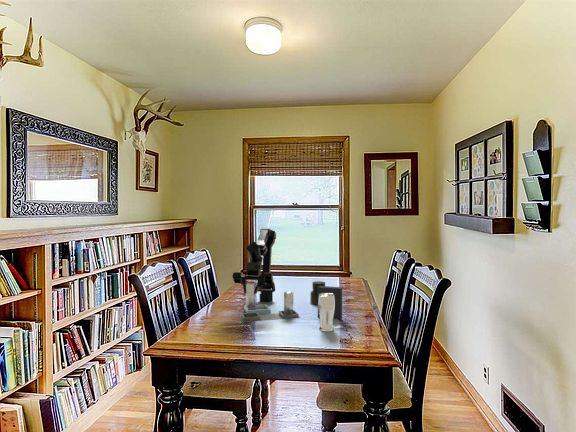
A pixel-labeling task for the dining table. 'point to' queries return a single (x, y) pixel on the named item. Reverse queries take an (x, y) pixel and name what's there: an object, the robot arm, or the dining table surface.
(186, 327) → the dining table surface
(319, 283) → the ink bottle
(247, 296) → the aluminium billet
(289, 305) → the billet
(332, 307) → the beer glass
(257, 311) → the tote
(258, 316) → the tray
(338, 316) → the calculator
